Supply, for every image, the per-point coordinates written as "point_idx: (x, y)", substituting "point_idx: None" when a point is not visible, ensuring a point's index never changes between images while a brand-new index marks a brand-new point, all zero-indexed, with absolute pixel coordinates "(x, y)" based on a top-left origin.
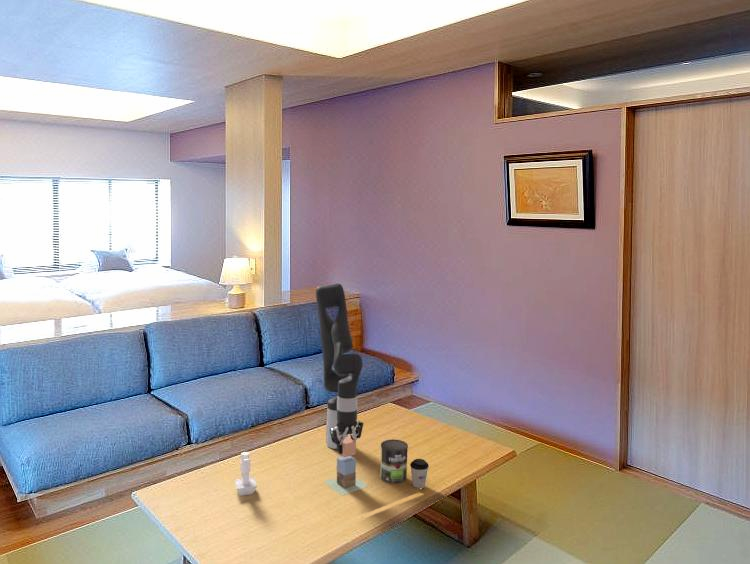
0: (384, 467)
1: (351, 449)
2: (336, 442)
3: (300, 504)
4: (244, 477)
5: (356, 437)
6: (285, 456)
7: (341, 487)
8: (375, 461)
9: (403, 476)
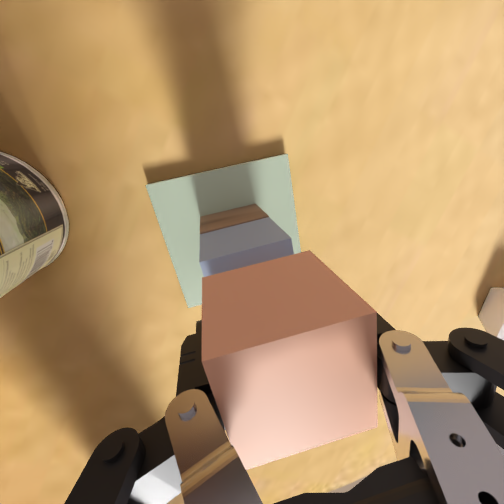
0: (2, 213)
1: (254, 292)
2: (494, 344)
3: (425, 176)
4: None
5: (170, 433)
6: (324, 444)
7: None
8: (47, 375)
9: None
